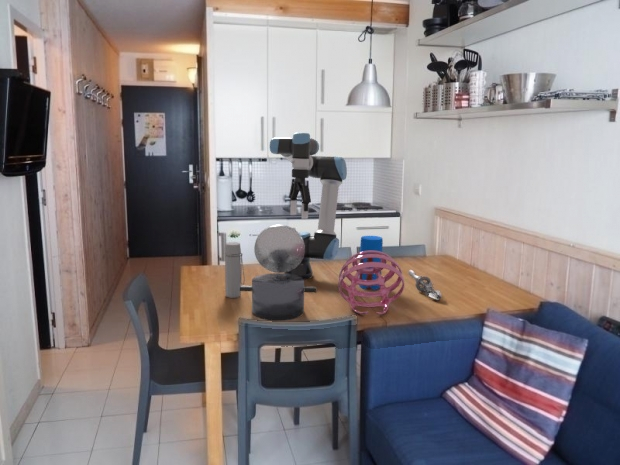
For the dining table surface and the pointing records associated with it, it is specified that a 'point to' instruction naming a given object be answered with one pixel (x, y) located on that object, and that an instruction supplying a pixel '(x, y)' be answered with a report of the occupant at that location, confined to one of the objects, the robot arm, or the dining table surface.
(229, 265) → the water bottle
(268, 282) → the pot
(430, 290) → the spaceship
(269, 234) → the lid
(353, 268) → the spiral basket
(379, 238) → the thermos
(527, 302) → the dining table surface
